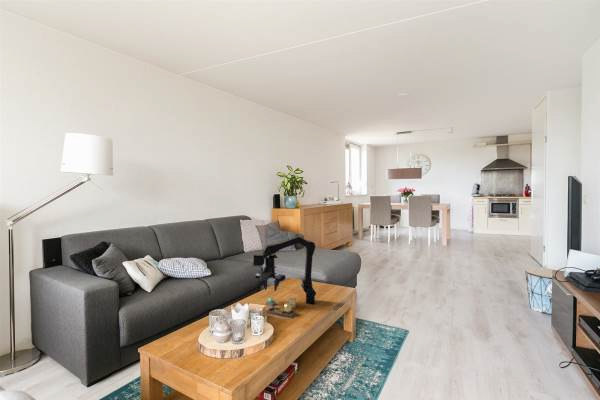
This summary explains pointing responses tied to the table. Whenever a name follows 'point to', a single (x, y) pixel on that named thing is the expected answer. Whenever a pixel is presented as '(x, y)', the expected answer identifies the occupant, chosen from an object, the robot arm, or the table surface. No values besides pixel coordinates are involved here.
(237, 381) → the table surface
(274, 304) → the button housing
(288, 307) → the cylinder
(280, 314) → the brown compartment tray
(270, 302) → the button
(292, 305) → the cylinder
